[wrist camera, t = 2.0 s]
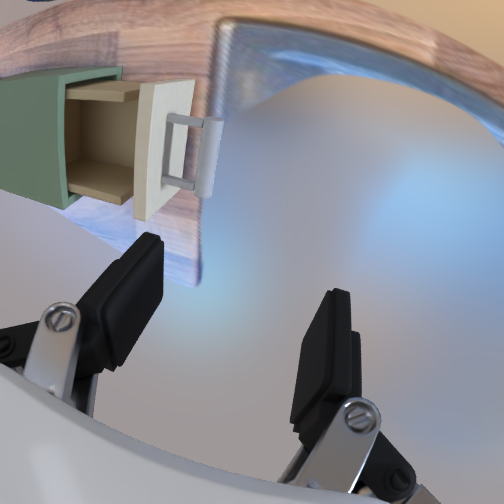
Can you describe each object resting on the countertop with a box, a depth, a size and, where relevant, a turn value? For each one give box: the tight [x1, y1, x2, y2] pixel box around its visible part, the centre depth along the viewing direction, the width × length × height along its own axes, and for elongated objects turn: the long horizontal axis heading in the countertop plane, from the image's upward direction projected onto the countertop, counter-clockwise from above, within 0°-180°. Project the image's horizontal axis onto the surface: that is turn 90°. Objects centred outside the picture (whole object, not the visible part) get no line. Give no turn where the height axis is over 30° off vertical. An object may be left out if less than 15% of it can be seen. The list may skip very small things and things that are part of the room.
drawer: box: [64, 78, 224, 222], centre depth 22 cm, size 17×10×7 cm, turn 78°
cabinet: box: [0, 66, 122, 210], centre depth 23 cm, size 14×12×9 cm
